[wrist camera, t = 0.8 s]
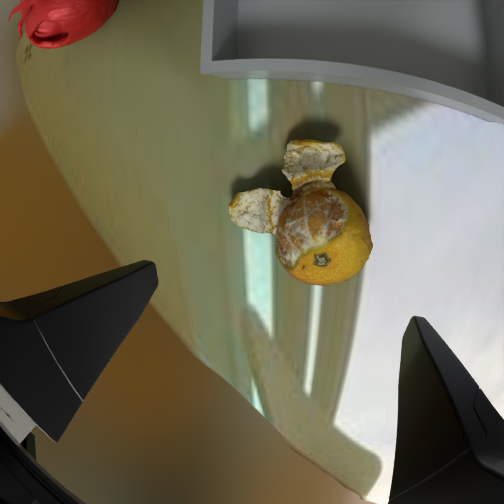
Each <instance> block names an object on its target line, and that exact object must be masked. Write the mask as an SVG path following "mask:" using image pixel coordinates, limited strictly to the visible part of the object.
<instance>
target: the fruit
mask: <svg viewBox="0 0 504 504" xmlns="http://www.w3.org/2000/svg"><path fill="white" fill-rule="evenodd" d="M283 157H284V159H285V164H284V167H283V168H282V172H283V173H284V174H285V175H286V177H287V178H288V180H289V181H290V182H291V184H292V190H293V195H292V196H291V197H289V198H286V197H283V196H282V195H281V194H280V191H276V190H270V189H267V188H266V189H261V188H257V189H254V190H248V191H246V192H240V193H237V194H236V195H235V198H234V199H233V200H232V201H231V203H230V204H229V205H228V207H229V214H230V218H231V220H232V221H233V222H234V223H235V224H236V225H238V226H239V227H241V228H245V229H248V230H250V231H255V232H257V233H270V234H272V235H275V236H276V244H275V247H276V255H277V257H278V259H279V261H280V263H281V264H282V266H283V267H284V268H285V269H286V271H287V272H288V273H289V274H290V275H291V276H293V277H294V278H295V279H297V280H299V281H301V282H303V283H305V284H312V285H321V286H326V285H329V284H335V283H339V282H342V281H348V280H349V278H351V277H353V276H354V275H355V274H357V273H358V272H359V271H360V270H361V269H362V267H363V266H364V265H365V263H366V261H367V260H368V259H369V255H370V253H371V250H372V248H373V244H372V241H371V235H370V232H369V224H368V222H367V220H366V218H365V216H364V213H363V211H362V209H361V207H359V205H358V204H357V203H355V201H354V200H353V199H351V197H350V196H349V195H347V193H345V192H344V191H338V190H336V187H335V185H334V184H333V183H332V181H331V177H332V174H333V172H334V171H335V169H336V168H337V167H338V166H339V165H341V164H343V163H344V162H345V153H344V151H343V149H342V147H341V146H340V145H339V144H337V143H335V142H328V143H325V142H321V141H317V140H313V139H304V140H299V139H295V140H294V141H293V140H291V141H290V142H289V143H288V145H287V151H286V153H285V154H284V155H283Z"/></svg>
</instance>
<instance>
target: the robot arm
mask: <svg viewBox="0 0 504 504" xmlns="http://www.w3.org/2000/svg"><path fill="white" fill-rule="evenodd" d="M157 286H158V276H157V270H156V265H155V263H154V262H152V261H148V260H142V261H139V262H136V263H133V264H129V265H126V266H123V267H120V268H117V269H114V270H110V271H107V272H104V273H101V274H97V275H95V276H92V277H88V278H85V279H82V280H79V281H76V282H73V283H70V284H66V285H64V286H60V287H57V288H54V289H51V290H48V291H45V292H41V293H38V294H34V295H30V296H27V297H23V298H19V299H15V300H12V301H7V302H0V504H86V503H85V502H84V501H82V500H81V499H80V498H79V497H77V496H76V495H75V494H73V493H72V492H71V491H70V490H68V489H67V488H66V487H65V486H64V485H62V484H61V483H60V482H59V481H58V480H56V479H55V478H54V477H53V476H52V475H51V474H50V473H49V472H48V471H47V470H46V469H45V468H43V467H42V466H41V465H40V464H39V463H38V462H37V461H36V451H35V436H34V434H32V433H31V430H32V429H33V428H34V427H35V425H37V426H38V427H39V428H40V429H41V430H42V431H43V432H44V433H45V434H46V435H47V436H49V437H50V438H51V439H52V440H53V441H54V442H55V443H57V442H58V441H59V440H60V438H61V436H62V435H63V433H64V431H65V430H66V428H67V426H68V425H69V423H70V422H71V420H72V418H73V417H74V415H75V413H76V412H77V410H78V409H79V407H80V405H81V404H82V402H83V400H84V399H85V397H86V396H87V394H88V392H89V391H90V389H91V388H92V386H93V385H94V383H95V382H96V380H97V379H98V377H99V376H100V374H101V373H102V371H103V370H104V368H105V367H106V365H107V363H108V362H109V361H110V359H111V358H112V356H113V355H114V353H115V352H116V350H117V349H118V347H119V346H120V345H121V343H122V342H123V340H124V339H125V337H126V336H127V335H128V333H129V332H130V330H131V329H132V327H133V326H134V325H135V323H136V322H137V320H138V319H139V317H140V316H141V314H142V312H143V311H144V308H145V307H146V305H147V303H148V302H149V300H150V298H151V297H152V295H153V293H154V291H155V290H156V288H157ZM388 504H504V419H503V418H502V417H501V416H500V414H499V413H498V412H497V410H496V409H495V408H494V407H493V405H492V404H491V402H490V401H489V400H488V398H487V397H486V396H485V394H484V393H483V391H482V390H481V389H479V386H478V384H477V383H476V382H475V380H474V379H473V378H472V376H471V375H470V374H469V372H468V371H467V370H466V368H465V367H464V366H463V364H462V363H461V362H460V360H459V359H458V358H457V357H456V355H455V354H454V353H453V351H452V350H451V349H450V348H449V346H448V345H447V344H446V343H445V342H444V340H443V339H442V338H441V337H440V335H439V334H438V333H437V332H436V331H435V329H434V328H433V327H432V326H431V325H430V323H429V322H428V321H427V320H426V319H425V318H424V317H419V316H413V317H412V318H411V320H410V322H409V324H408V326H407V329H406V331H405V333H404V335H403V339H402V349H401V362H400V372H399V385H398V422H397V438H396V450H395V460H394V469H393V476H392V483H391V490H390V496H389V502H388Z"/></svg>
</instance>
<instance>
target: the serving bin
mask: <svg viewBox="0 0 504 504" xmlns="http://www.w3.org/2000/svg"><path fill="white" fill-rule="evenodd" d="M200 73H202V74H207V75H213V76H218V77H223V78H227V79H283V80H302V81H315V82H325V83H335V84H343V85H350V86H357V87H363V88H369V89H375V90H380V91H386V92H391V93H395V94H400V95H404V96H409V97H413V98H417V99H421V100H425V101H428V102H432V103H435V104H439V105H442V106H446V107H449V108H452V109H455V110H458V111H461V112H464V113H467V114H470V115H472V116H475V117H478V118H481V119H483V120H486V121H488V122H495V123H501V124H504V0H204V1H203V18H202V37H201V65H200Z"/></svg>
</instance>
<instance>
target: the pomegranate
mask: <svg viewBox="0 0 504 504" xmlns="http://www.w3.org/2000/svg"><path fill="white" fill-rule="evenodd" d="M117 2H118V0H20V4H19V5H18V6H16V7H15V8H14V9H13V10H12V12H11V14H10V16H9V19H10V17H11V15H12V14H14V13H15V12H17V11H20V14H21V20H20V21H19V23H18V26H17V28H18V32H19V34H20V38H21V36H22V30H21V27H22V25H23V24H24V27H25V32H26V35H27V37H28V38H29V41H30V42H31V43H32V44H33V45H35V46H37V47H40V48H47V49H49V48H58V47H62V46H66V45H70V44H72V43H75V42H77V41H79V40H82V39H83V38H85V37H87V36H89V35H91V34H92V33H94V32H95V31H96V30H97V29H99V28H100V27H101V26H102V25H103V24H104V23H105V22H106V21H107V20H108V19H109V18H110V16H111V15H112V14H113V12H114V11H115V8H116V5H117ZM9 19H8V21H9ZM20 38H19V39H20Z"/></svg>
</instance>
